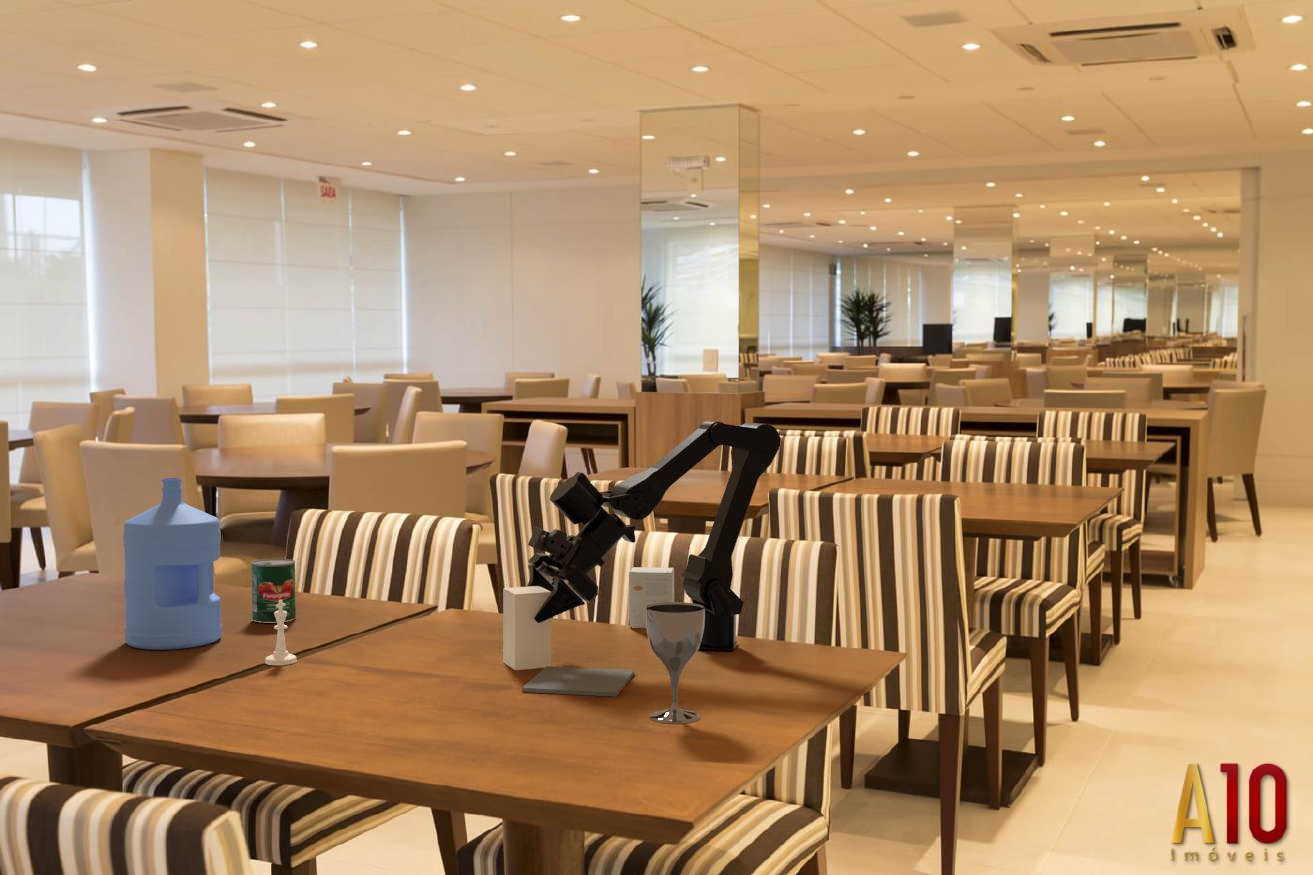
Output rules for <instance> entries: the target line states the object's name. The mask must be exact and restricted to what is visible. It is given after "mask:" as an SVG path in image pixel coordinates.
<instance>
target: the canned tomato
mask: <svg viewBox="0 0 1313 875" xmlns="http://www.w3.org/2000/svg"><path fill="white" fill-rule="evenodd" d="M250 564H251V613H252V619H253V620H256V621H261V622H277V621H276V618H275V615H274V612H276V611H278V610H279V608H276V605H277V604H279V600H283V603H285V606H283V611H286V612H287V616H286V618H285V621H287V620H291V619H295V618H296V619H297V616H296V614H297V613H296V610H297V609H296V605H297V604H296V602H297V601H296V594H297V593H296V560H294V559H290V558H265V559H257V560H256V559H255V560H253V561H251V563H250ZM252 619H251V620H252Z"/></svg>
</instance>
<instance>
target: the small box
mask: <svg viewBox="0 0 1313 875" xmlns="http://www.w3.org/2000/svg"><path fill="white" fill-rule="evenodd" d="M628 583H629V584H628V587H629V588H628V589H629V590H628V594H629V595H628V597H629V598H628V604H629V605H628V606H629V608H628V611H629V613H628V614H629V615H628V616H629V619H628V621H629V622H628V623H629V628H630V627H634V628H633V629H647V627H646V607H647V606H648V605H651V604H655V603H663V602H675V568H674V567H650V566H648V567H647V566H646V567H643V566H642V567H641V566H639V567H638V566H636V567H634V566H633V567H632V568H631V569H630V570H629V572H628Z"/></svg>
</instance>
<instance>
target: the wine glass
mask: <svg viewBox="0 0 1313 875" xmlns="http://www.w3.org/2000/svg"><path fill="white" fill-rule="evenodd" d="M704 621H705V608H704V606H702V605H699V604H694V603H692V602H684V601H683V602H682V601H681V602H680V601H674V602H663V603H655V604H651V605H648V606H647V607H646V627H647V628H646V633H647V639H648V643H649V646H650V649H651V650H652V652H653V654H655V656H656V657H657V658H658V659H659V660H660V661H661V663H662V664H663V665H664V666H665V668H666V670H667V672H668V676H669V678H670V686H671V705H670V707H669V708H667V709H660V710H656V711H653V712H652V711H651V712H650V713H649V715H648V718H649V720H651V721H653V722H657V723H661V724H670V725H676V724H678V725H679V724H680V725H681V724H690V723H694V722H697V721H699V720H700V719H701V718H702V717H701V715H700V714H699V713H698V712H696V711H692V710H687V709H681V708H680V707H679V703H678V702H679V701H678V696H679V693H678V692H679V683H680V677H681V674H682V672H683V670H684V668H685V667H686V666H687V665H688V663H689V662H690V661H691V660H692V658H693V657H694V656H695V655H696V654H697V653H698V651H699V650H700V649H699V647H700V645H701V641H702V637H703V631H704Z"/></svg>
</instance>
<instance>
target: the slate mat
mask: <svg viewBox="0 0 1313 875" xmlns="http://www.w3.org/2000/svg"><path fill="white" fill-rule="evenodd" d="M634 675H635V670H632V669H614V668H613V669H612V668H611V669H610V668H609V669H608V668H592V667H591V668H589V667H588V668H587V667H571V666H569V667H568V666H552V665H551V666H546V667H545V668H542V669H541V670H540V672H538V673H537V674H536V675H535V676H534V677H532V678H531V679H530V680H529V681H528V682H527V683H526V684H525V685H523V686H522V688H521V691H522V693H539V694H541V693H542V694H557V695H558V694H559V695H576V696H577V695H579V696H600V697H613V698H615V697H617V696H618V695H619V694H620V692H621V691H622V690H624V688H625V686H626V685H627V684H628V682H629V681H630V680H631V679H632V677H634Z"/></svg>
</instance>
